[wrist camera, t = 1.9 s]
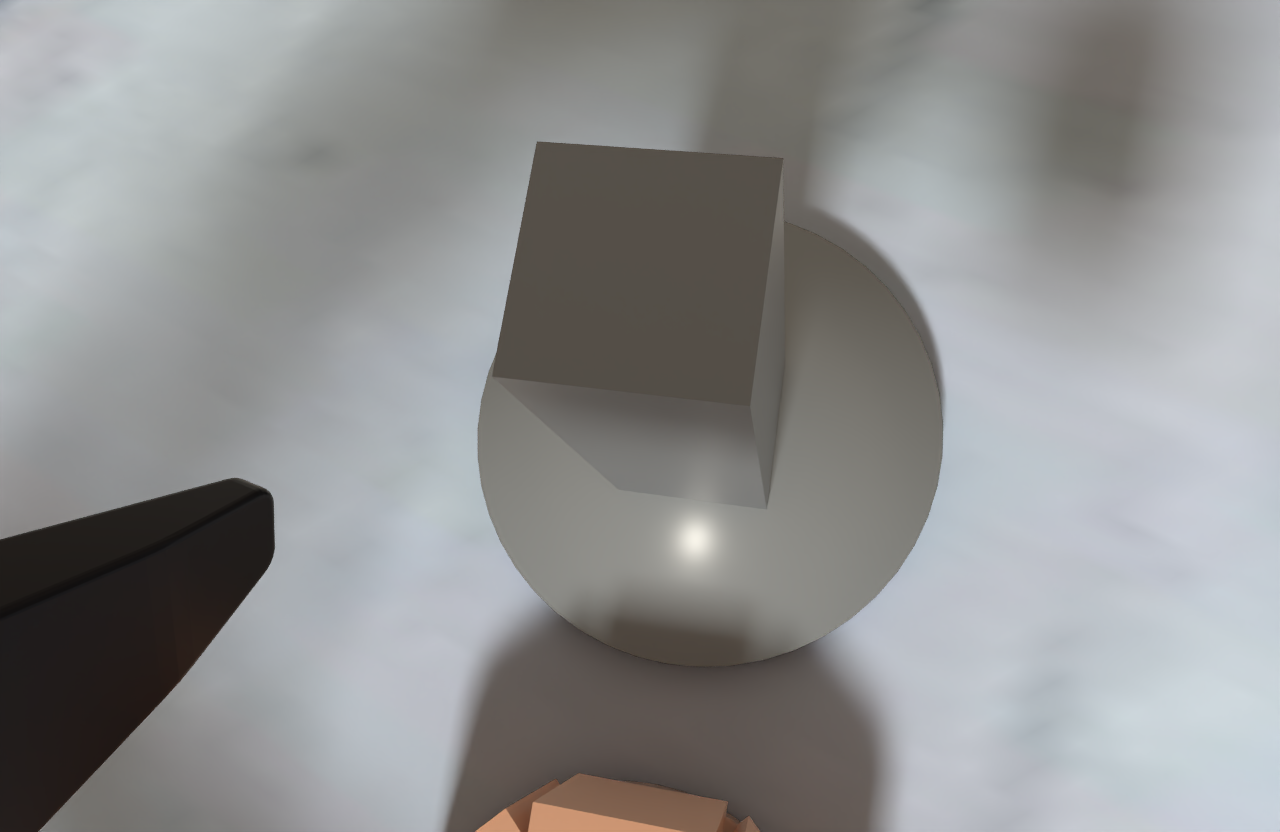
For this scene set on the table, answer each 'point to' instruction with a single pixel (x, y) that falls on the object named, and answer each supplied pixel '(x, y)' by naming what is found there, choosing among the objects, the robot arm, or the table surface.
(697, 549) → the grey piece
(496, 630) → the table surface
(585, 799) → the terracotta bowl
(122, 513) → the robot arm
